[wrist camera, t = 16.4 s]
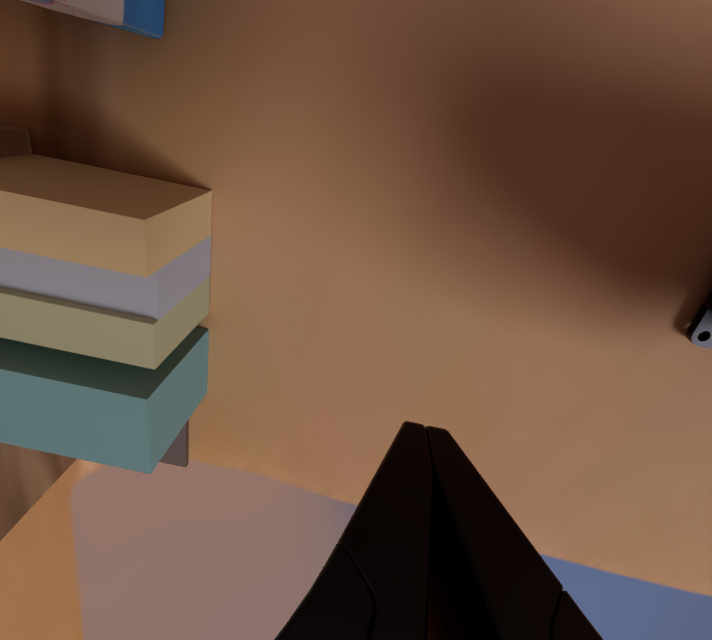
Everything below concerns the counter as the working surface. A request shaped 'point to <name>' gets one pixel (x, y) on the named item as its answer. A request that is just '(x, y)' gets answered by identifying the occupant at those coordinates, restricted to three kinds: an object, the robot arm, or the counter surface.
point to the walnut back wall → (14, 463)
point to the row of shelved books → (101, 259)
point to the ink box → (114, 13)
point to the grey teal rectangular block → (99, 402)
